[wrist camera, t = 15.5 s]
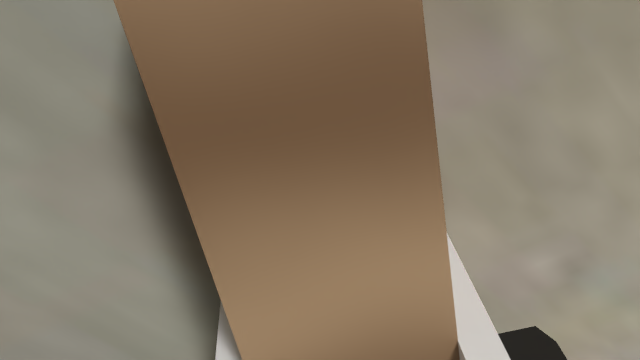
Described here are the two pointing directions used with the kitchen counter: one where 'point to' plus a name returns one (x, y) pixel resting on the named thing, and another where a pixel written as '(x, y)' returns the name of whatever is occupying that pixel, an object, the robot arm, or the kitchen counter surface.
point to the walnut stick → (307, 169)
